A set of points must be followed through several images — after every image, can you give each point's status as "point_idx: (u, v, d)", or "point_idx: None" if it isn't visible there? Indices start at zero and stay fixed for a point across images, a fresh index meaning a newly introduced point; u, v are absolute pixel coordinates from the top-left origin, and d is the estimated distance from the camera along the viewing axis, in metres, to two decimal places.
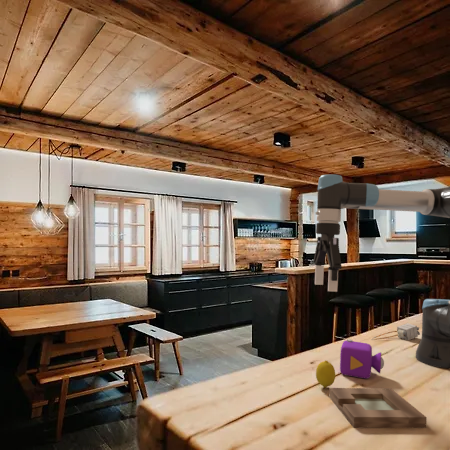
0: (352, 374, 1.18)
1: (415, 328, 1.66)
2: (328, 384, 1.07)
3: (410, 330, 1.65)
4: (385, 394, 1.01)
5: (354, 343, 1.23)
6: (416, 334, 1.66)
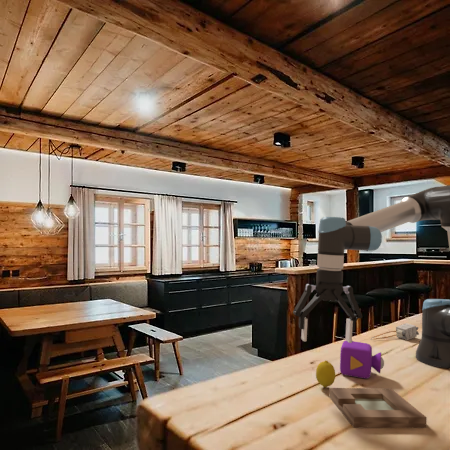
0: (352, 374, 1.18)
1: (414, 328, 1.66)
2: (328, 384, 1.07)
3: (409, 330, 1.65)
4: (385, 394, 1.01)
5: (354, 343, 1.23)
6: (415, 334, 1.67)
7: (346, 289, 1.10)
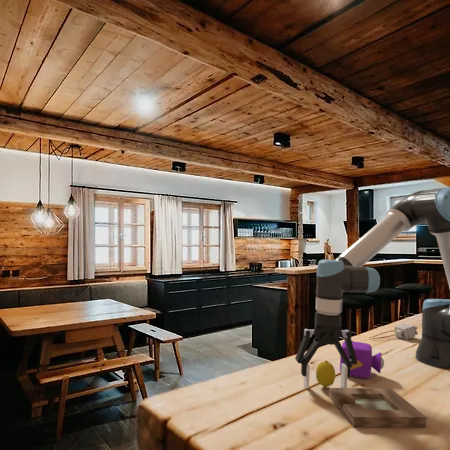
0: (352, 374, 1.18)
1: (413, 328, 1.67)
2: (328, 384, 1.07)
3: (408, 330, 1.65)
4: (385, 394, 1.01)
5: (354, 343, 1.23)
6: (414, 334, 1.67)
7: (344, 333, 1.10)
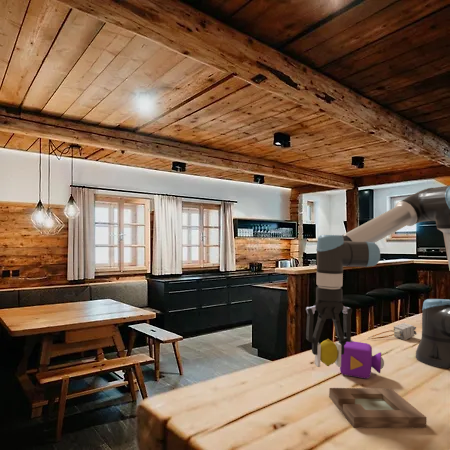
0: (352, 374, 1.18)
1: (412, 328, 1.67)
2: (331, 362, 1.08)
3: (406, 330, 1.65)
4: (385, 394, 1.01)
5: (354, 343, 1.23)
6: (413, 334, 1.67)
7: (345, 309, 1.10)
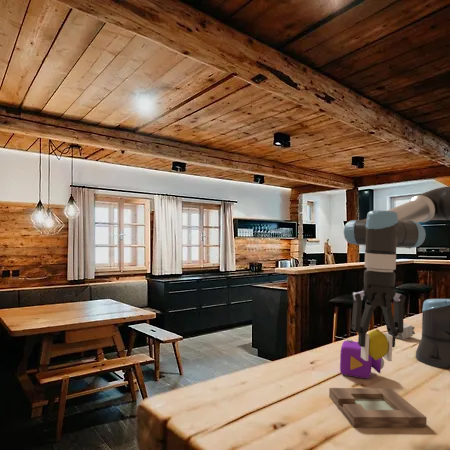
0: (352, 374, 1.18)
1: (410, 327, 1.67)
2: (381, 355, 0.94)
3: (405, 329, 1.66)
4: (385, 394, 1.01)
5: (354, 343, 1.23)
6: (411, 333, 1.67)
7: (397, 296, 0.97)
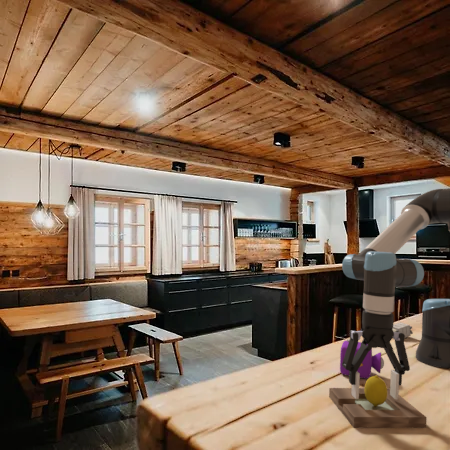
0: None
1: (408, 327, 1.67)
2: (380, 403, 0.94)
3: (403, 329, 1.66)
4: None
5: None
6: (409, 333, 1.67)
7: (396, 335, 0.96)
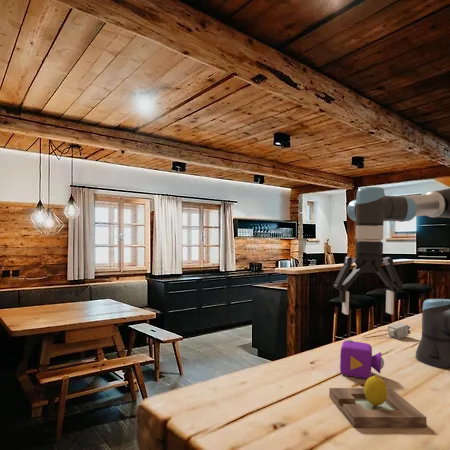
0: (352, 374, 1.18)
1: (406, 327, 1.67)
2: (380, 403, 0.94)
3: (400, 329, 1.66)
4: None
5: (354, 343, 1.23)
6: (407, 333, 1.68)
7: (386, 260, 1.08)
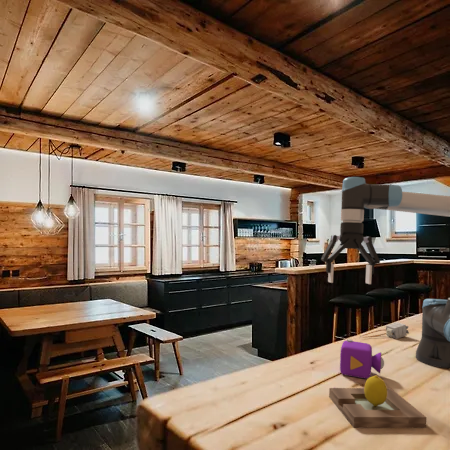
0: (352, 374, 1.18)
1: (404, 327, 1.68)
2: (380, 403, 0.94)
3: (398, 329, 1.67)
4: None
5: (354, 343, 1.23)
6: (405, 333, 1.68)
7: (366, 239, 1.29)
